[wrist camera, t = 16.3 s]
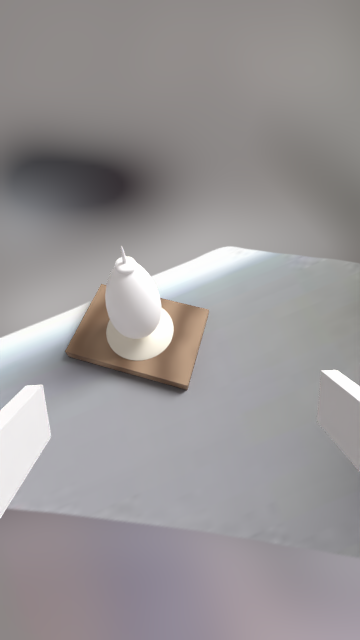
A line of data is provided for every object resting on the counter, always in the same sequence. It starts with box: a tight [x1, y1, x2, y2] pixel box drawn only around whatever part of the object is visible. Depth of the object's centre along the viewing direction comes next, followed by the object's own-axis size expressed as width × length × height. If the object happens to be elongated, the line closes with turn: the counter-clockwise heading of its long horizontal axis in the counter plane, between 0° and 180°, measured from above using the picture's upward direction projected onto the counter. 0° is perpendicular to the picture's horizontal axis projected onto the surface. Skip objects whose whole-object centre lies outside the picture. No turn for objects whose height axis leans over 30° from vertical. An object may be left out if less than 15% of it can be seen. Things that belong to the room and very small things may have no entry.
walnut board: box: [65, 284, 209, 390], centre depth 49 cm, size 20×14×2 cm
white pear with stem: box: [105, 246, 161, 339], centre depth 41 cm, size 8×8×18 cm
